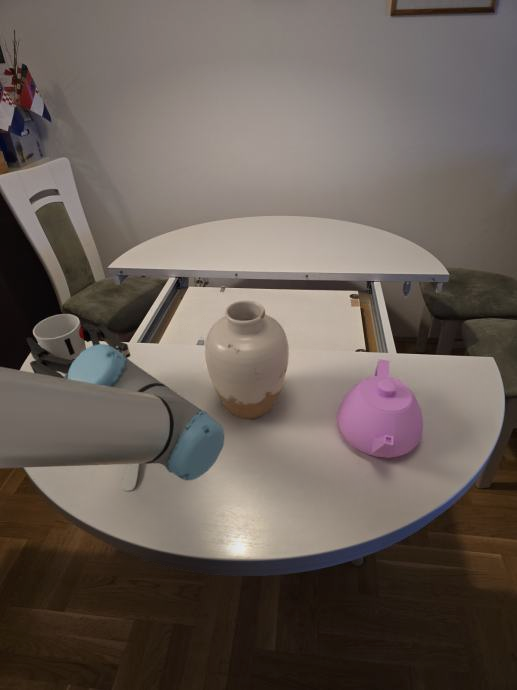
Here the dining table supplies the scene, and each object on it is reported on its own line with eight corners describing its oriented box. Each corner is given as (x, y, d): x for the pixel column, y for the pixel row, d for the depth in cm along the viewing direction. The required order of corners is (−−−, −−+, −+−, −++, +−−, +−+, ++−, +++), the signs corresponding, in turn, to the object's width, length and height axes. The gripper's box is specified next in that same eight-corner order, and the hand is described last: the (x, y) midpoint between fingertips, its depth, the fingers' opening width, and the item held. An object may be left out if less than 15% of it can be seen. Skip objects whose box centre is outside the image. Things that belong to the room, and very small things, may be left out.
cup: (79, 382, 77) (62, 341, 71) (42, 376, 79) (23, 336, 73) (101, 356, 84) (87, 316, 77) (67, 351, 85) (51, 311, 79)
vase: (282, 435, 77) (285, 341, 63) (203, 426, 80) (188, 333, 66) (290, 379, 90) (293, 290, 76) (221, 373, 92) (212, 285, 78)
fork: (123, 497, 70) (118, 489, 69) (148, 402, 85) (145, 393, 83) (139, 497, 70) (135, 490, 68) (161, 402, 85) (159, 393, 83)
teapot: (338, 386, 88) (344, 342, 80) (412, 394, 85) (426, 350, 78) (333, 472, 71) (340, 426, 63) (426, 486, 68) (445, 440, 61)
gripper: (68, 435, 64) (6, 374, 76) (168, 368, 77) (101, 325, 88) (52, 402, 60) (-11, 343, 72) (161, 337, 72) (91, 296, 84)
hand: (51, 333), depth 80 cm, fingers closed on cup, 8 cm apart
